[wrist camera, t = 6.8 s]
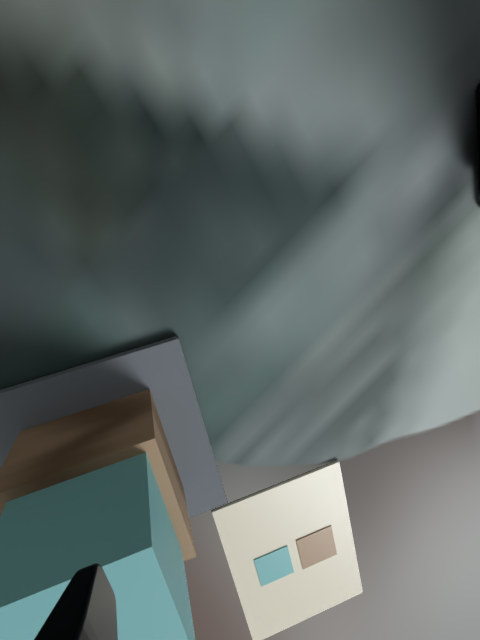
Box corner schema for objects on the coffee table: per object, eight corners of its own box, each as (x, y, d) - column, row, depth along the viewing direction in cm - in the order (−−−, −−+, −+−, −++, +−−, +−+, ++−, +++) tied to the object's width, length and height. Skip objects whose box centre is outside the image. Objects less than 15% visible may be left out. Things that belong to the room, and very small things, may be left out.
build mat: (177, 335, 19) (178, 338, 19) (225, 496, 22) (227, 502, 22) (-43, 402, 17) (-47, 408, 17) (43, 568, 20) (41, 576, 20)
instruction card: (337, 459, 24) (339, 462, 23) (361, 589, 27) (363, 593, 27) (211, 510, 22) (212, 513, 22) (252, 640, 26) (254, 645, 25)
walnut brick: (149, 388, 19) (154, 438, 15) (183, 487, 21) (196, 556, 17) (19, 431, 18) (-15, 497, 14) (67, 531, 20) (50, 617, 15)
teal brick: (146, 452, 15) (152, 546, 11) (181, 550, 16) (199, 667, 12) (6, 501, 14) (-48, 627, 10) (58, 601, 15) (31, 746, 11)
